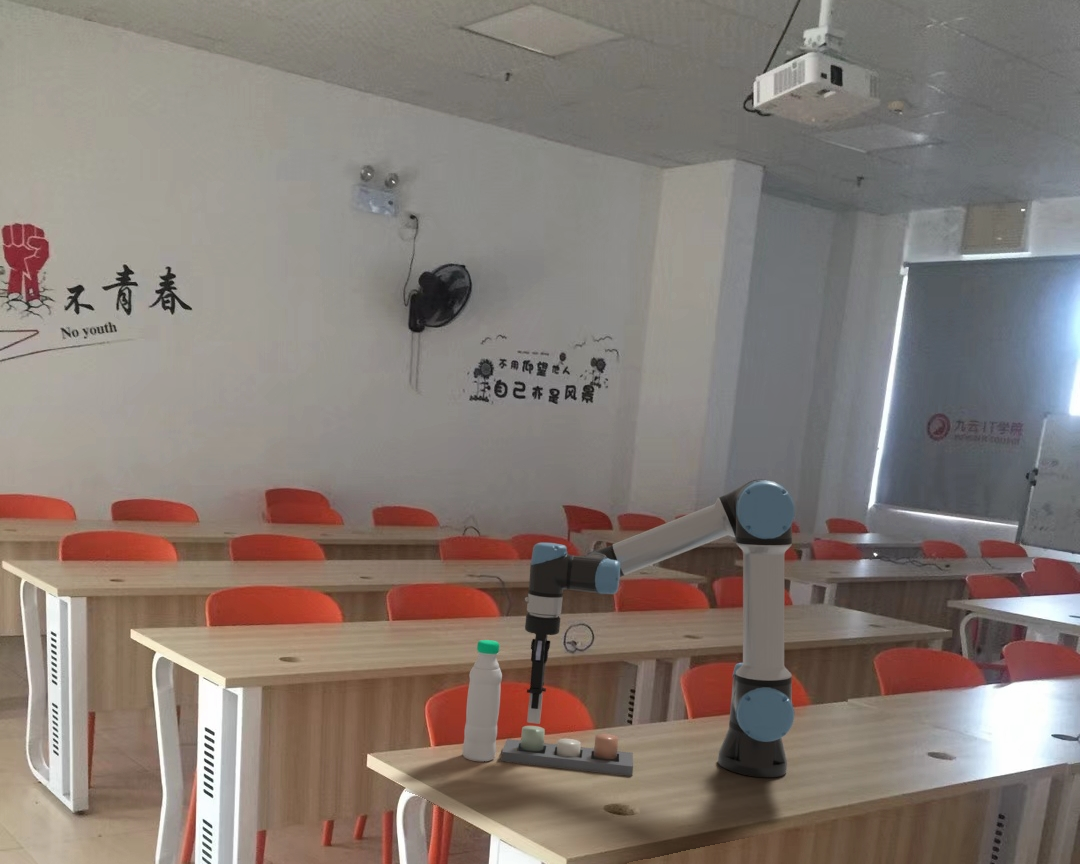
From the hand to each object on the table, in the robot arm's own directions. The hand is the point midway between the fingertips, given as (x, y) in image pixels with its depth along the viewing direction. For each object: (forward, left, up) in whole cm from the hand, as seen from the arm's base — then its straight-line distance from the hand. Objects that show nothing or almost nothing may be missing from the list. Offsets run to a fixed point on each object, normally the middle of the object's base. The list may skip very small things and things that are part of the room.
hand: (533, 722), depth 231 cm
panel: (-8, 0, -8) cm, 11 cm away
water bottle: (+11, +4, -8) cm, 14 cm away
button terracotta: (-16, 0, -6) cm, 17 cm away
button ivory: (-8, 0, -7) cm, 11 cm away
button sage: (0, 0, -6) cm, 6 cm away
